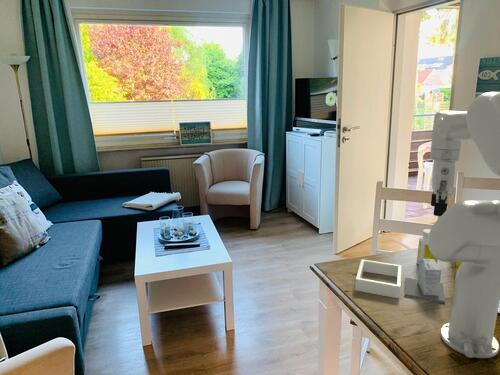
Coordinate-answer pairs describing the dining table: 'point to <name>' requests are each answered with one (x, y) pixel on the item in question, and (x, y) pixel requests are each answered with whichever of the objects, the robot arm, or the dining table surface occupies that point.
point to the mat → (415, 291)
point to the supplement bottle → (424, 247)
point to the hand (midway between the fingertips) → (437, 210)
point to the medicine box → (429, 277)
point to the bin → (377, 286)
